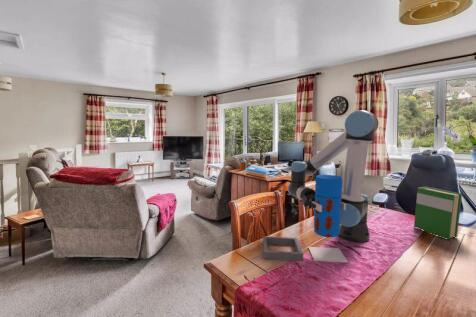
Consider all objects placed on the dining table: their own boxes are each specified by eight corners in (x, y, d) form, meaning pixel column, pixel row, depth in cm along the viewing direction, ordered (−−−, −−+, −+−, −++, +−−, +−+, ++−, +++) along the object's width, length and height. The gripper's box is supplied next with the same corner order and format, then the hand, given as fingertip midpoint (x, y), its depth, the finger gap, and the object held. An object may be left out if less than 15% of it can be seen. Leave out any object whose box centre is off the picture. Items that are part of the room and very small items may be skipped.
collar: (296, 243, 127) (297, 237, 126) (302, 260, 110) (303, 254, 110) (263, 242, 128) (263, 236, 127) (264, 258, 111) (264, 252, 111)
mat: (338, 249, 121) (338, 248, 121) (347, 262, 109) (347, 261, 109) (308, 248, 122) (308, 246, 122) (314, 260, 110) (314, 259, 110)
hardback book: (456, 238, 137) (462, 193, 134) (448, 240, 134) (453, 195, 131) (421, 226, 153) (425, 186, 150) (413, 228, 150) (417, 187, 147)
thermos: (341, 238, 108) (344, 179, 105) (314, 236, 110) (316, 178, 108) (337, 228, 119) (340, 175, 116) (313, 226, 121) (315, 174, 118)
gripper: (326, 200, 134) (356, 214, 113) (285, 203, 128) (308, 218, 107) (327, 186, 133) (357, 197, 112) (285, 188, 127) (308, 200, 106)
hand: (333, 207), depth 109 cm, fingers closed on thermos, 11 cm apart
